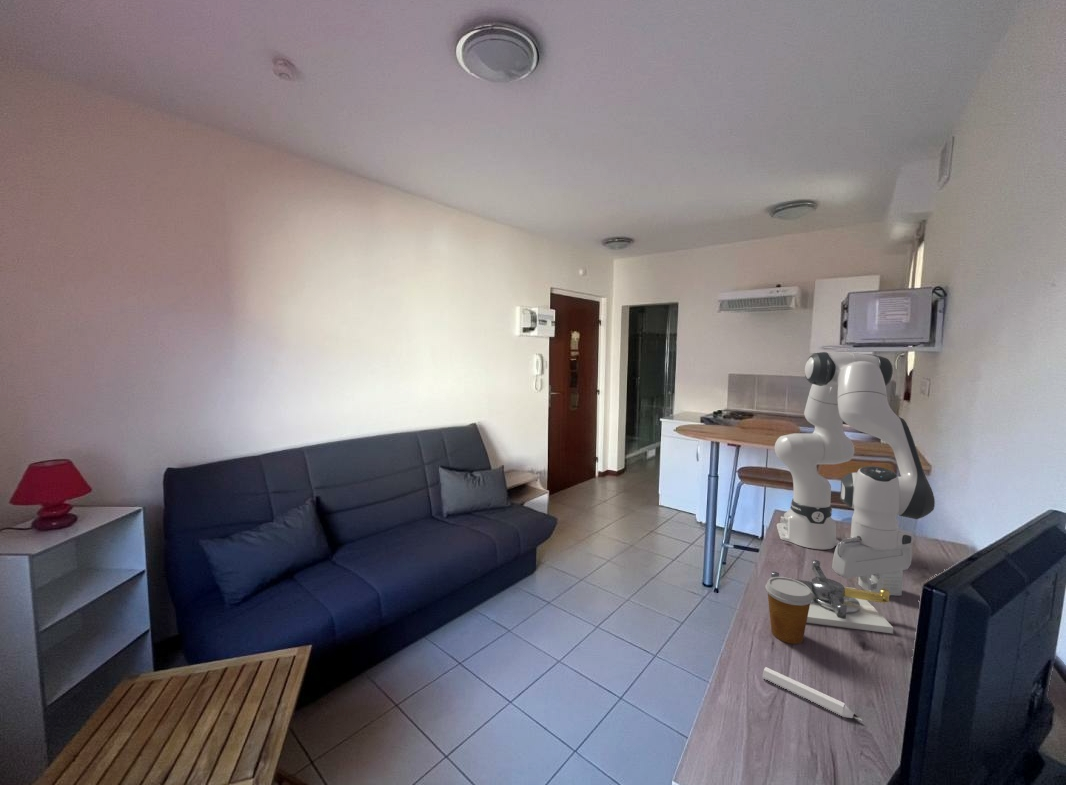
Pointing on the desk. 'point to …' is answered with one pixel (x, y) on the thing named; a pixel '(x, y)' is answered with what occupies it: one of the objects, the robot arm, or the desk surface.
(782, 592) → the disposable coffee cup
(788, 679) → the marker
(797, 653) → the desk surface
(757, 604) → the desk surface
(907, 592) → the desk surface
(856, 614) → the stand
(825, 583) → the capstan
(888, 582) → the small box
